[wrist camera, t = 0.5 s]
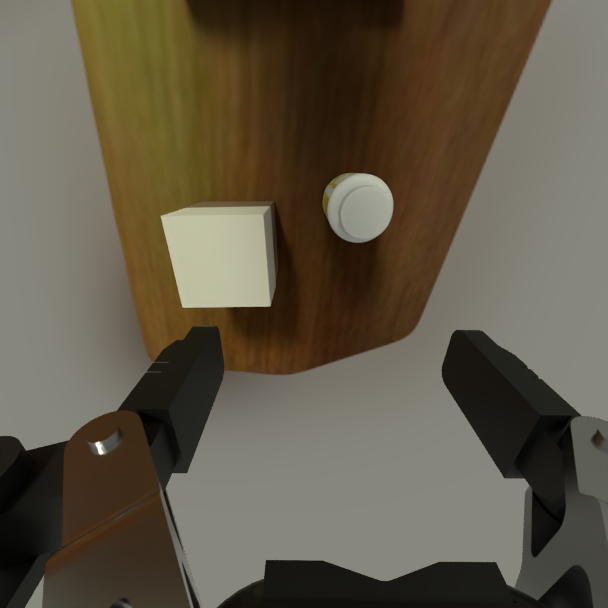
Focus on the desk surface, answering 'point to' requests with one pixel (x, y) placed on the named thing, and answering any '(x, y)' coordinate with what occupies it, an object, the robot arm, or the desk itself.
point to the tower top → (222, 255)
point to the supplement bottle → (357, 206)
